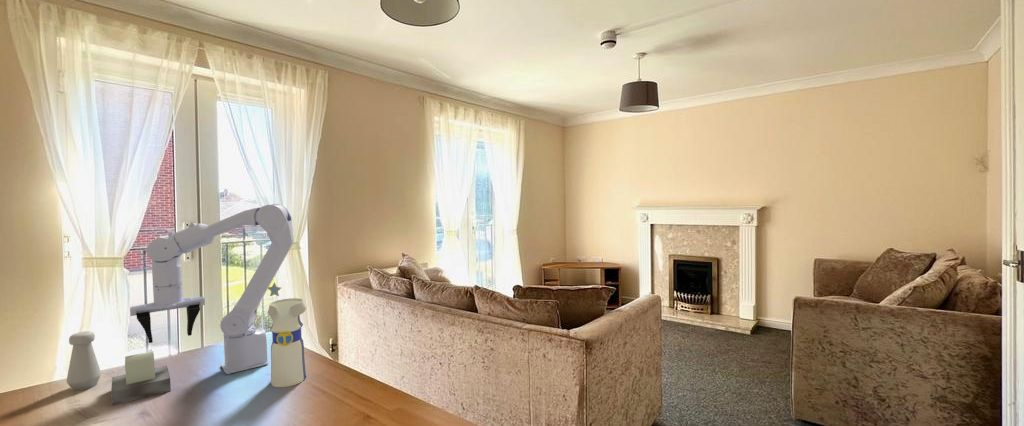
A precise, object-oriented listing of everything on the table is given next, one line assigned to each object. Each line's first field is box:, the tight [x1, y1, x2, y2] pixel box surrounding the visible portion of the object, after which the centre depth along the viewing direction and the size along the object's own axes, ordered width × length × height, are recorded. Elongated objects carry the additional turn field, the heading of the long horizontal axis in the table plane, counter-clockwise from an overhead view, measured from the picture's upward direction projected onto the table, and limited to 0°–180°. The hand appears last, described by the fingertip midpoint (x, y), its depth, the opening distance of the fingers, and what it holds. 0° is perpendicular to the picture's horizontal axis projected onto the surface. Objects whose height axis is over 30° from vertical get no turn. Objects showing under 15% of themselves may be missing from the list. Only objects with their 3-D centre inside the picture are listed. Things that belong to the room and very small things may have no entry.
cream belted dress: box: [267, 282, 308, 388], centre depth 104 cm, size 8×9×25 cm
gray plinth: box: [110, 365, 172, 406], centre depth 100 cm, size 10×10×3 cm
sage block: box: [124, 351, 156, 385], centre depth 99 cm, size 5×5×5 cm
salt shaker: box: [66, 330, 102, 391], centre depth 102 cm, size 6×6×13 cm
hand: (170, 338), depth 108 cm, fingers open, 7 cm apart
